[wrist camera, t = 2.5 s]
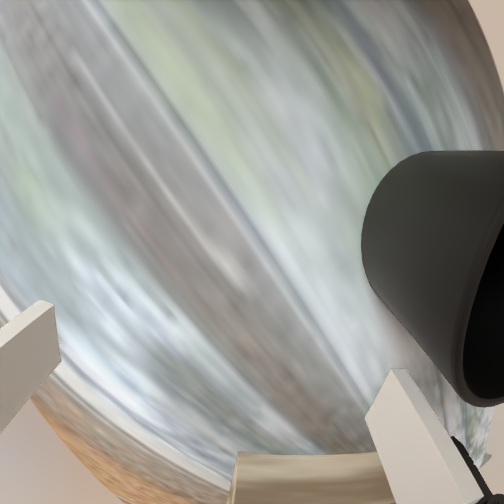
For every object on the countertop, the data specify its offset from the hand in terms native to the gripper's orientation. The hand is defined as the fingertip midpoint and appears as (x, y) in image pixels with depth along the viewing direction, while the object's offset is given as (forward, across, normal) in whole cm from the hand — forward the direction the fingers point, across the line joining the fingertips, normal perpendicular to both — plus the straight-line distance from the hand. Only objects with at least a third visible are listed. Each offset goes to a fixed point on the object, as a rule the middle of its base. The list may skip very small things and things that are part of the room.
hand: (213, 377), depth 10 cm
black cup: (+6, +12, +7) cm, 15 cm away
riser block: (+7, +9, -18) cm, 22 cm away
